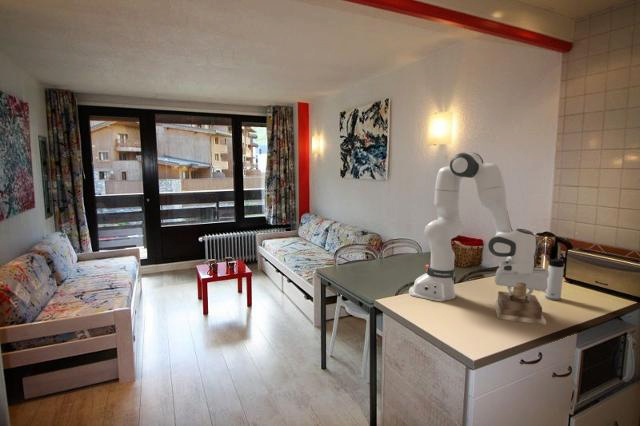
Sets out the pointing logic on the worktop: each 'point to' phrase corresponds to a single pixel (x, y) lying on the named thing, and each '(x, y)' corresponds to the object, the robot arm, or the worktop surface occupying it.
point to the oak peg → (520, 292)
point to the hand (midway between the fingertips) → (519, 296)
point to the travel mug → (555, 279)
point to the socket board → (519, 309)
